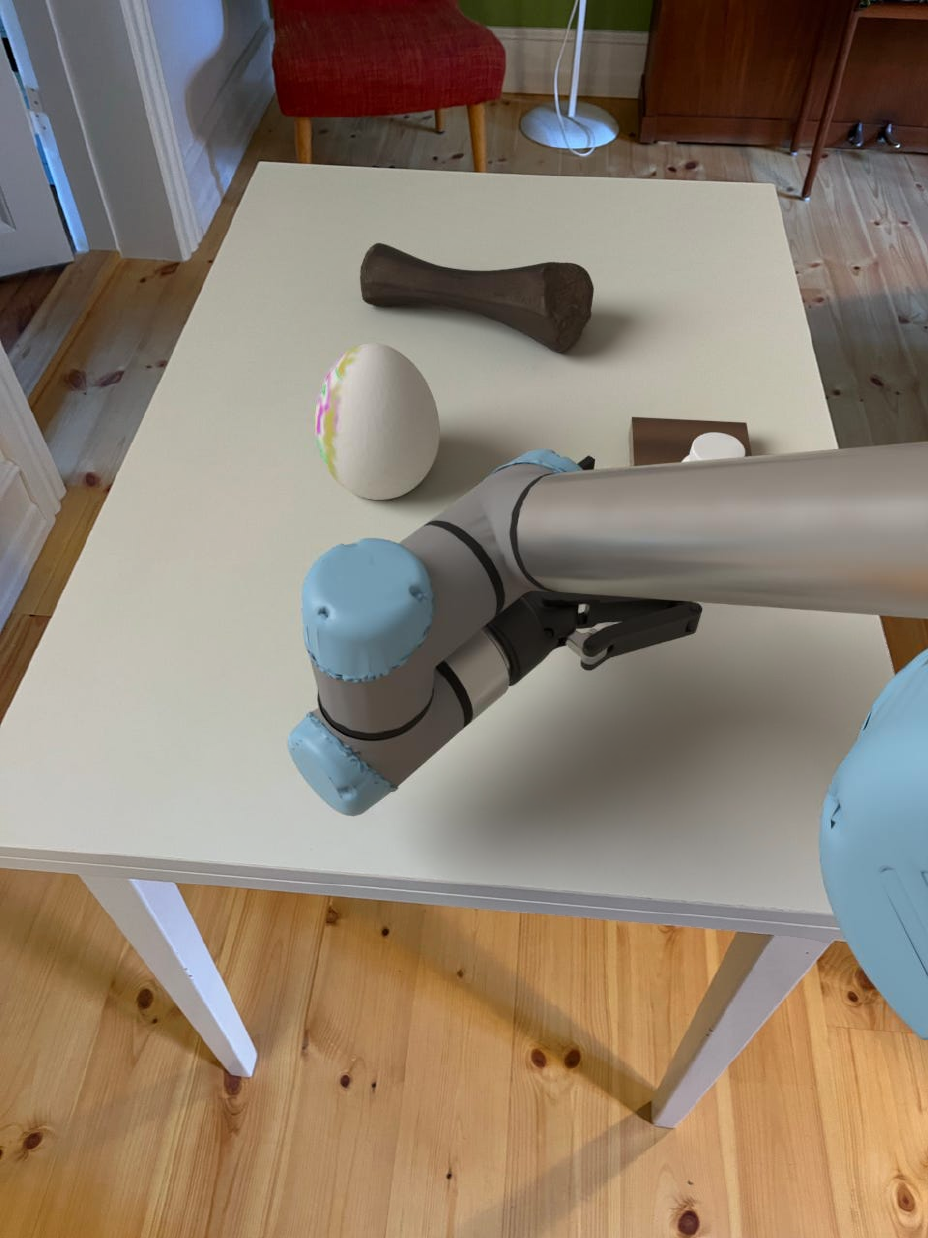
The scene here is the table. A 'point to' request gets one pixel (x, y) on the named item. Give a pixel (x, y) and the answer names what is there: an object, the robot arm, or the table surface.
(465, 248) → the table surface
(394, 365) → the decorative egg
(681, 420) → the plate
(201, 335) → the table surface
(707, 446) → the pill bottle
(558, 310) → the dark brown bone
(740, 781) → the table surface
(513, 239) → the table surface
